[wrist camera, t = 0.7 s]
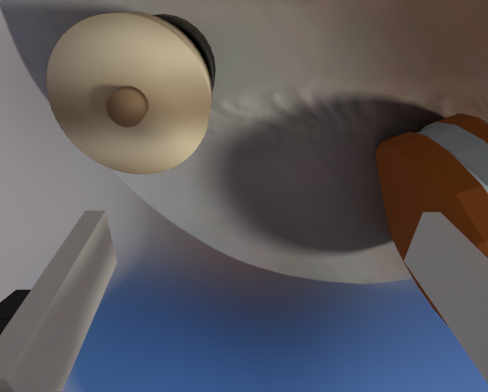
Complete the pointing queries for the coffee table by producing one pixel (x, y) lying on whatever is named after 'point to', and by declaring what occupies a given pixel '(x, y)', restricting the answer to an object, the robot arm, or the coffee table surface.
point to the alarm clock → (437, 180)
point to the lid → (130, 91)
